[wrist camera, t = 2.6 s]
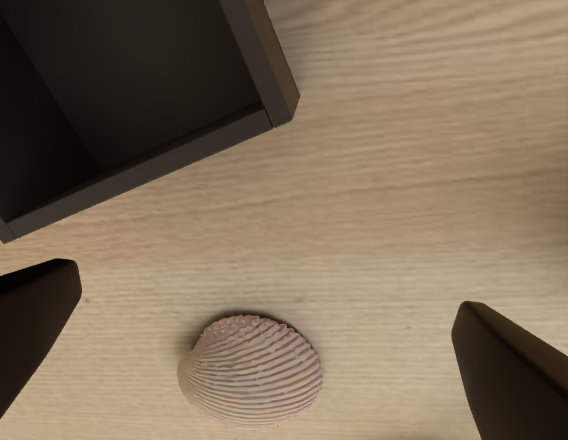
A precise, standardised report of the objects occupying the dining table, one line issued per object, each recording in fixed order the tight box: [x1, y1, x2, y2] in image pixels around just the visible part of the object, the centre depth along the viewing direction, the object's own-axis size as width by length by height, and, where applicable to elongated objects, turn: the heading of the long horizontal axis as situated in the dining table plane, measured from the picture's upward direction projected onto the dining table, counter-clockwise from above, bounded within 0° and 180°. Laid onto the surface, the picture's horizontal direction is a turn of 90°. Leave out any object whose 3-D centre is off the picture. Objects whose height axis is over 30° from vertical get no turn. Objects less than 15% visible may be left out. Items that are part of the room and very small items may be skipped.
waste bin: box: [0, 0, 300, 244], centre depth 15 cm, size 12×11×8 cm
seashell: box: [177, 315, 323, 430], centre depth 25 cm, size 10×6×10 cm
